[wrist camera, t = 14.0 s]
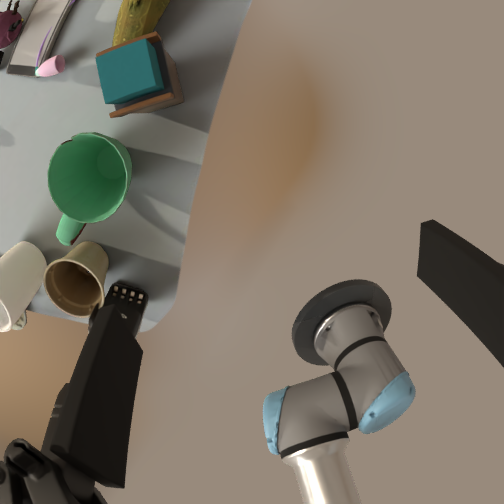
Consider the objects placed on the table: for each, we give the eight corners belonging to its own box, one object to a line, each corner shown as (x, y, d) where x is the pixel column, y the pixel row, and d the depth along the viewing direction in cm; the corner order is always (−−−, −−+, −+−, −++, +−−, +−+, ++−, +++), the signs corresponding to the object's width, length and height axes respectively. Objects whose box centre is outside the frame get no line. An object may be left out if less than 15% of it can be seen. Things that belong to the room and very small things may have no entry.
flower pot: (57, 237, 37) (32, 266, 30) (107, 224, 38) (87, 253, 30) (78, 287, 42) (61, 320, 34) (126, 278, 42) (114, 313, 35)
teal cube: (164, 89, 20) (156, 85, 17) (120, 104, 20) (105, 104, 17) (155, 48, 18) (145, 37, 15) (111, 64, 18) (95, 57, 15)
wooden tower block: (184, 102, 32) (173, 97, 22) (148, 113, 32) (122, 114, 22) (175, 63, 29) (160, 42, 19) (139, 74, 29) (109, 60, 19)
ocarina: (135, 93, 30) (110, 88, 22) (99, 85, 29) (66, 80, 20) (196, -31, 23) (194, -67, 14) (160, -38, 21) (149, -72, 12)
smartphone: (80, -16, 19) (37, 77, 25) (83, -14, 20) (41, 78, 26) (44, -16, 17) (4, 73, 23) (47, -14, 18) (8, 74, 24)
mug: (101, 114, 31) (68, 117, 22) (161, 147, 34) (145, 160, 26) (60, 205, 35) (27, 232, 26) (113, 236, 39) (91, 271, 30)
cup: (9, 237, 35) (-37, 282, 23) (44, 234, 36) (-2, 284, 24) (22, 280, 39) (-15, 331, 27) (57, 281, 40) (22, 337, 28)
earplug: (34, 88, 24) (45, 90, 26) (210, -25, 21) (212, -15, 24) (17, 31, 20) (27, 34, 22) (172, -71, 17) (175, -61, 19)
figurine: (-1, 82, 21) (28, 3, 15) (-41, 77, 16) (-15, -1, 10) (15, 68, 26) (43, 1, 20) (-20, 63, 21) (5, -3, 15)
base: (175, 98, 22) (171, 96, 19) (120, 117, 22) (109, 118, 19) (162, 39, 19) (156, 30, 16) (107, 59, 19) (95, 53, 16)
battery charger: (151, 288, 43) (133, 334, 33) (148, 307, 45) (131, 354, 34) (111, 275, 42) (83, 318, 31) (109, 295, 43) (84, 339, 33)
